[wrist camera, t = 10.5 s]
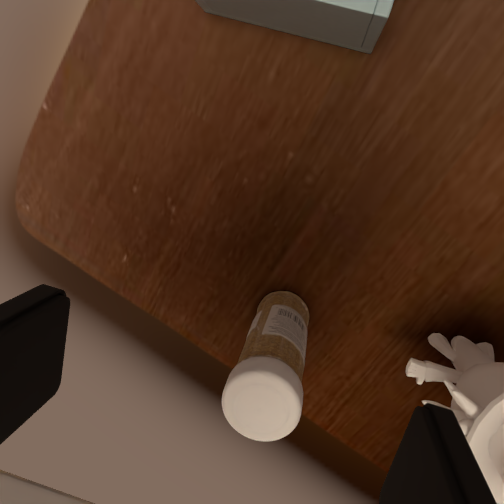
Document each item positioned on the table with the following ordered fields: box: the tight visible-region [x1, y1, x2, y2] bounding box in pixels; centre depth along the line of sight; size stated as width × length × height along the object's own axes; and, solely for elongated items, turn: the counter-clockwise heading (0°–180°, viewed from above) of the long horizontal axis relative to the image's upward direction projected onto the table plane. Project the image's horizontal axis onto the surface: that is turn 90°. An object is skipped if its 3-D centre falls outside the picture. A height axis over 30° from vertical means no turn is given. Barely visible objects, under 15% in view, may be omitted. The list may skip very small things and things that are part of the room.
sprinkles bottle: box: [222, 291, 309, 441], centre depth 29 cm, size 5×5×13 cm
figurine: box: [406, 333, 504, 504], centre depth 25 cm, size 10×8×18 cm
